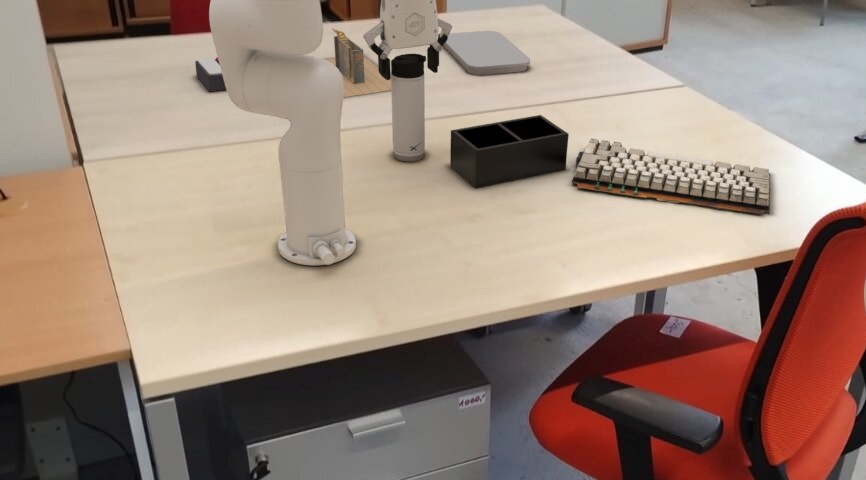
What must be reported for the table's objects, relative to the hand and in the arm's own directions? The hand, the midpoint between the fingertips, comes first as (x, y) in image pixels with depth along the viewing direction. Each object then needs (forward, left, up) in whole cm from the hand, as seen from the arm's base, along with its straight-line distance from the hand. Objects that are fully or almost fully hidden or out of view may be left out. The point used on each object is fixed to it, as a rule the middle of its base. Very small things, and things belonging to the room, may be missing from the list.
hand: (409, 74), depth 178 cm
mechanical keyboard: (-31, -41, -17) cm, 54 cm away
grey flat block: (+47, -42, -17) cm, 65 cm away
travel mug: (0, 0, -17) cm, 17 cm away
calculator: (+54, +19, -17) cm, 60 cm away
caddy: (-13, -15, -16) cm, 26 cm away
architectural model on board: (+47, -6, -17) cm, 50 cm away
